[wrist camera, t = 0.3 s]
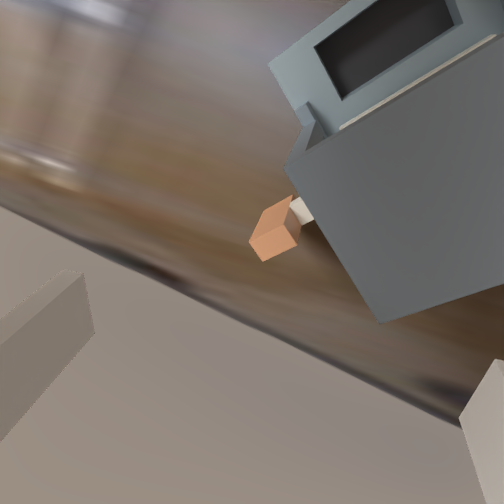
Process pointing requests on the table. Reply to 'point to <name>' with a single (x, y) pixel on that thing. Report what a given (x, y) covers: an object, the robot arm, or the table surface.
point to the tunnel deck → (403, 146)
